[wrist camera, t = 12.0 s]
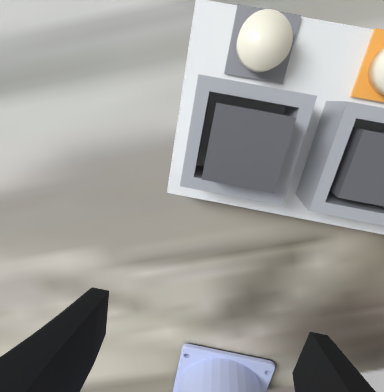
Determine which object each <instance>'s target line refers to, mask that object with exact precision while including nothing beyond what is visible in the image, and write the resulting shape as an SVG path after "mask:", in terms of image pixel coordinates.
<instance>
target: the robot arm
mask: <svg viewBox="0 0 384 392" xmlns="http://www.w3.org/2000/svg"><path fill="white" fill-rule="evenodd" d="M108 298H109V291H107V290H102V289H97V288H91V289H89V290H88V291H87V292H86V293H84V294H83V295H82V296H81V297H80V298H78V299H77V300H76V301H75V302H74V303H72V304H71V305H70V306H69V307H67V308H66V309H65V310H64V311H63V312H61V313H60V314H59V315H58V316H56V317H55V318H54V319H52V320H51V321H50V322H48V323H47V324H46V325H45V326H43V327H42V328H41V329H39V330H38V331H37V332H35V333H34V334H33V335H31V336H30V337H28V338H27V339H25V340H24V341H23V342H21V343H20V344H18V345H17V346H16V347H14V348H13V349H11V350H10V351H8V352H7V353H6V354H4V355H3V356H1V357H0V392H80V390H81V388H82V386H83V384H84V382H85V380H86V378H87V376H88V374H89V372H90V370H91V368H92V366H93V364H94V362H95V360H96V357H97V355H98V352H99V350H100V347H101V345H102V342H103V339H104V337H105V334H106V322H107V310H108ZM267 370H268V371H267ZM274 370H275V365H274V363H273V362H272V361H270V360H265V359H260V358H255V357H251V356H246V355H241V354H236V353H231V352H226V351H222V350H217V349H212V348H207V347H202V346H197V345H193V344H184V345H183V347H182V351H181V355H180V360H179V365H178V369H177V374H176V379H175V383H174V388H173V392H266V391H267V388H268V386H269V383H270V381H271V378H272V375H273V373H274ZM293 380H294V387H295V392H375V390H374V389H373V388H372V387H371V386H370V385H369V384H368V382H367V381H366V380H365V379H364V378H363V376H362V375H361V374H360V373H359V372H358V370H357V369H356V368H355V367H354V366H353V365H352V363H351V362H350V361H349V360H348V359H347V357H346V356H345V355H344V354H343V353H342V351H341V350H340V349H339V348H338V347H337V346H336V344H335V343H334V342H333V341H332V340H331V339H330V338H329V337H328V335H323V334H318V333H313V332H310V333H309V336H308V338H307V340H306V343H305V345H304V347H303V350H302V352H301V354H300V357H299V359H298V361H297V364H296V366H295V368H294V371H293Z"/></svg>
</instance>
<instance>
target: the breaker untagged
mask: <svg viewBox="0 0 384 392" xmlns="http://www.w3.org/2000/svg"><path fill="white" fill-rule="evenodd" d="M295 122H296V117H292V116H288V115H284V114H279V113H273V112H268V111H262V110H257V109H252V108H246V107H241V106H235V105H230V104H225V103H219V102H216V107H215V112H214V117H213V122H212V127H211V133H210V138H209V143H208V148H207V153H206V159H205V164H204V169H203V174H202V179H201V180H207V181H212V182H217V183H222V184H228V185H233V186H238V187H243V188H248V189H254V190H259V191H264V192H269V193H275V189H276V186H277V183H278V179H279V176H280V172H281V169H282V166H283V162H284V159H285V156H286V152H287V149H288V145H289V142H290V139H291V135H292V132H293V129H294V125H295Z"/></svg>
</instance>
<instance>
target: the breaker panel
mask: <svg viewBox="0 0 384 392" xmlns="http://www.w3.org/2000/svg"><path fill="white" fill-rule="evenodd" d="M216 102H219V103H225V104H230V105H235V106H241V107H246V108H252V109H257V110H262V111H268V112H273V113H279V114H284V115H288V116H292V117H296V122H295V125H294V129H293V132H292V135H291V139H290V142H289V145H288V149H287V152H286V156H285V159H284V162H283V166H282V169H281V172H280V176H279V179H278V183H277V186H276V189H275V193H269V192H264V191H259V190H254V189H248V188H243V187H238V186H233V185H228V184H222V183H217V182H212V181H207V180H201V179H202V174H203V169H204V164H205V159H206V153H207V148H208V143H209V138H210V133H211V127H212V122H213V117H214V112H215V107H216ZM353 127H356V128H362V129H367V130H373V131H378V132H384V30H382V29H368V28H362V27H356V26H351V25H345V24H339V23H334V22H328V21H322V20H317V19H311V18H305V17H301V15H296V14H291V13H285V12H279V11H276V10H273V9H262V8H256V7H251V6H245V5H239V4H238V5H231V4H226V3H220V2H214V1H209V0H196V2H195V9H194V15H193V22H192V29H191V35H190V42H189V49H188V55H187V62H186V69H185V76H184V82H183V89H182V96H181V102H180V109H179V116H178V122H177V129H176V136H175V142H174V149H173V156H172V162H171V169H170V176H169V183H168V189H167V193H172V194H177V195H182V196H187V197H192V198H198V199H203V200H208V201H213V202H218V203H223V204H228V205H234V206H239V207H244V208H249V209H254V210H259V211H265V212H270V213H275V214H280V215H285V216H290V217H295V218H301V219H306V220H311V221H316V222H321V223H326V224H332V225H337V226H342V227H347V228H352V229H357V230H363V231H368V232H373V233H378V234H383V235H384V206H379V205H374V204H368V203H363V202H358V201H353V200H347V199H342V198H338V197H336V196H335V195H334V194H333V193H332V192H330V188H331V185H332V182H333V180H334V177H335V174H336V172H337V169H338V166H339V163H340V161H341V158H342V155H343V153H344V150H345V147H346V145H347V142H348V139H349V136H350V134H351V131H352V128H353Z"/></svg>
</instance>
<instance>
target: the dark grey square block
mask: <svg viewBox="0 0 384 392" xmlns="http://www.w3.org/2000/svg"><path fill="white" fill-rule="evenodd" d="M330 192H332V193H333V194H334V195H335V196H336V197H338V198H342V199H347V200H353V201H358V202H363V203H368V204H374V205H379V206H384V132H378V131H373V130H367V129H362V128H356V127H353V128H352V131H351V134H350V136H349V139H348V142H347V145H346V147H345V150H344V153H343V155H342V158H341V161H340V163H339V166H338V169H337V172H336V174H335V177H334V180H333V182H332V185H331V188H330Z"/></svg>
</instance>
